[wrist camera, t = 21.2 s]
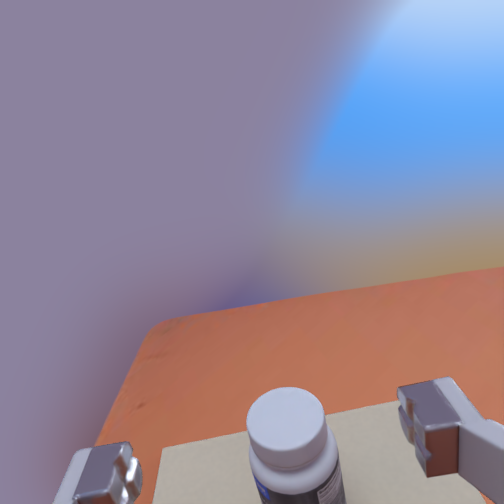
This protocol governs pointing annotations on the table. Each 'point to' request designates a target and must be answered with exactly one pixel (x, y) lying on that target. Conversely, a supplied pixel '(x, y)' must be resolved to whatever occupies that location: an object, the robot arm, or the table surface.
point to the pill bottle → (293, 450)
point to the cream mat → (351, 461)
